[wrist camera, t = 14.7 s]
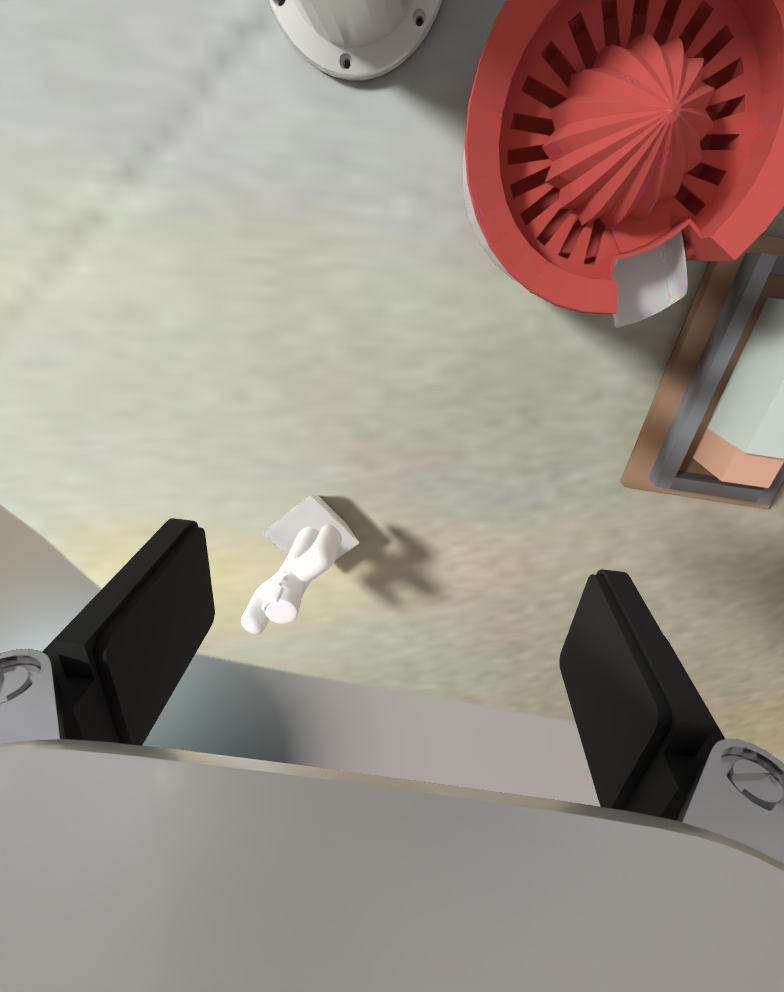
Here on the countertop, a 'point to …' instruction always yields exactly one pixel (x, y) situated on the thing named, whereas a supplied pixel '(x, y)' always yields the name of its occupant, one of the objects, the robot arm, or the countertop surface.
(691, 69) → the citrus juicer
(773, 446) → the white bar
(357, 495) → the countertop surface
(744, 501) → the jig
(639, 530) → the countertop surface
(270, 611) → the figurine
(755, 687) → the countertop surface
